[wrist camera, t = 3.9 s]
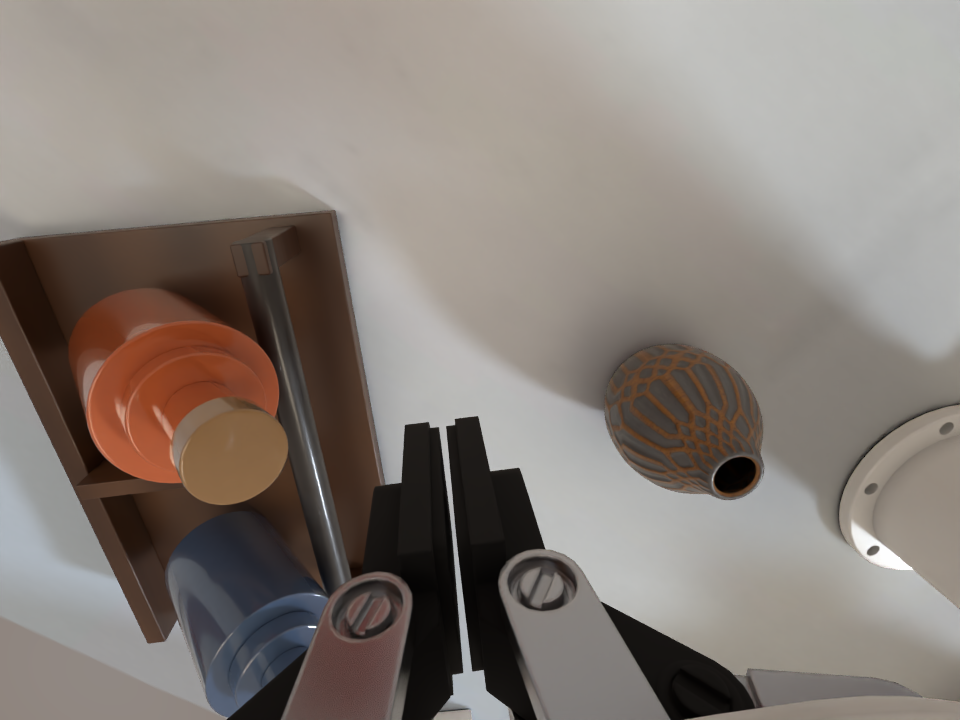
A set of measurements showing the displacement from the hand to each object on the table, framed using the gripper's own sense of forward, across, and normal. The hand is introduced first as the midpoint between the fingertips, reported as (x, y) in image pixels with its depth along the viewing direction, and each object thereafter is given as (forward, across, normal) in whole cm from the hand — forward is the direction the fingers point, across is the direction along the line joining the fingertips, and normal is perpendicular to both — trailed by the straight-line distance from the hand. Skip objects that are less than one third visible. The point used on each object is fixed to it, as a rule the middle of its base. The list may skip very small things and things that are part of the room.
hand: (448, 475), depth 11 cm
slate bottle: (+12, +13, +12) cm, 21 cm away
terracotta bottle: (+12, +13, 0) cm, 18 cm away
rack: (+15, +11, +6) cm, 20 cm away
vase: (+15, -12, +6) cm, 20 cm away
